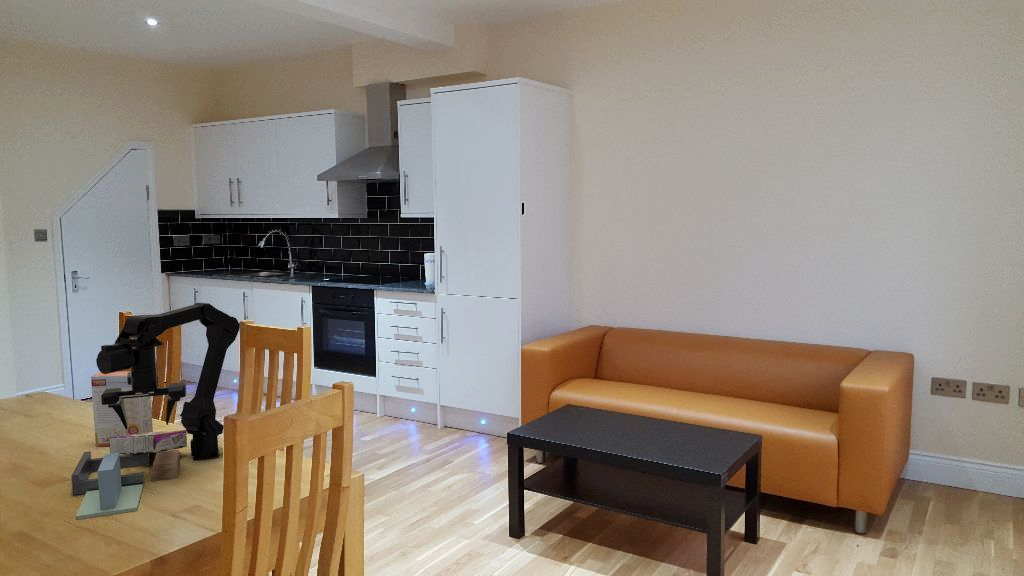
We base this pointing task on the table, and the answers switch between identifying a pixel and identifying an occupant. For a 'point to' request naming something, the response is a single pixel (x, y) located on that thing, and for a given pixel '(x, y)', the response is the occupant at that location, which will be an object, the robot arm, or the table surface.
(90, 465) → the rack
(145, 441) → the candy bar box
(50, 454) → the table surface
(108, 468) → the grey panel
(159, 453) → the offcut pile
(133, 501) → the mat
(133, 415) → the cracker box
